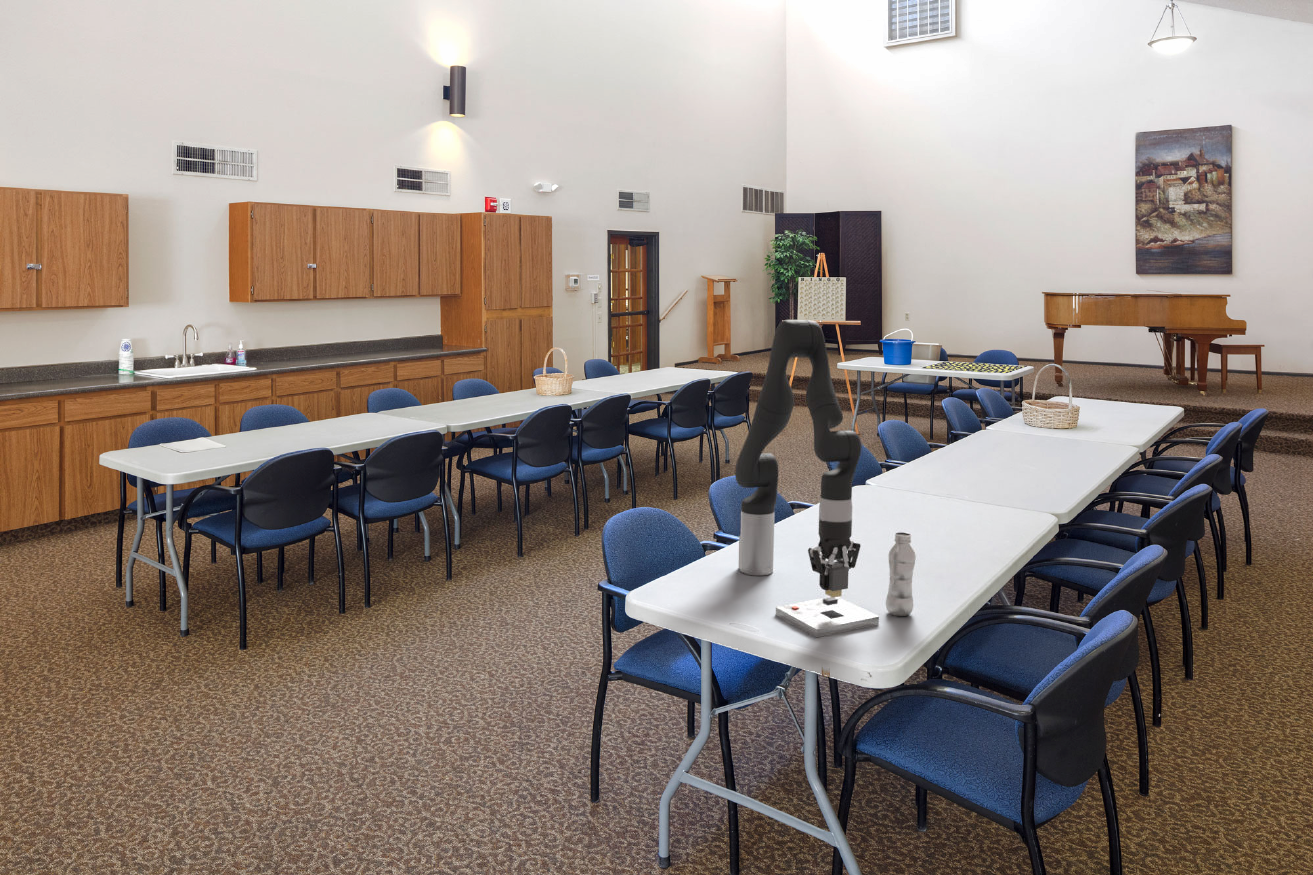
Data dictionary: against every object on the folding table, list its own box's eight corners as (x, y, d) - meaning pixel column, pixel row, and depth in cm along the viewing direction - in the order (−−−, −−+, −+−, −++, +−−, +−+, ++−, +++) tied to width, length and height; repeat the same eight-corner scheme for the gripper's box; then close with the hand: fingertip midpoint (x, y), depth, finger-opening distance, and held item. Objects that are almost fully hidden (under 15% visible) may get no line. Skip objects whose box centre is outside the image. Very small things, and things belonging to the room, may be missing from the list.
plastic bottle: (907, 609, 218) (911, 530, 215) (916, 619, 211) (921, 537, 208) (881, 609, 218) (885, 530, 215) (889, 619, 211) (893, 538, 208)
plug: (819, 593, 209) (820, 562, 208) (834, 590, 211) (835, 559, 210) (832, 599, 205) (833, 567, 203) (847, 596, 207) (848, 565, 205)
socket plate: (775, 615, 214) (775, 603, 213) (835, 603, 222) (835, 592, 221) (816, 637, 200) (816, 625, 199) (878, 624, 208) (879, 613, 207)
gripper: (849, 509, 212) (847, 579, 214) (800, 516, 205) (798, 587, 208) (870, 516, 205) (867, 588, 208) (820, 523, 198) (818, 597, 201)
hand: (833, 587), depth 208 cm, fingers closed on plug, 4 cm apart
